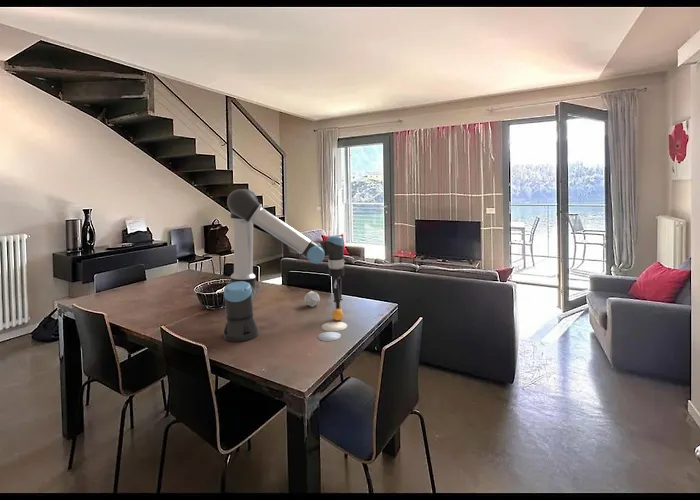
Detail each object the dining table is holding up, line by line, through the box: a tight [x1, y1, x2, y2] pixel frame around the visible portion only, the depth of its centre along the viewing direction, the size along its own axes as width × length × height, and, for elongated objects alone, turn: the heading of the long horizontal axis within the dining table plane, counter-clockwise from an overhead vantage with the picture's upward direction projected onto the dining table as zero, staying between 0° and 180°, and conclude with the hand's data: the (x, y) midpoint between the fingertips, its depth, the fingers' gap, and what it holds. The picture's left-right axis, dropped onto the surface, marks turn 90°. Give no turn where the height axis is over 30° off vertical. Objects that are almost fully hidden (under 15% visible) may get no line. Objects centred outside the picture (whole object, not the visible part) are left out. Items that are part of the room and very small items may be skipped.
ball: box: [331, 308, 344, 322], centre depth 187 cm, size 6×6×6 cm
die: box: [304, 290, 321, 308], centre depth 211 cm, size 8×9×10 cm
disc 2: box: [317, 331, 342, 342], centre depth 167 cm, size 10×10×1 cm
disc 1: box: [321, 321, 348, 332], centre depth 179 cm, size 12×12×1 cm
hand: (338, 313), depth 190 cm, fingers closed
